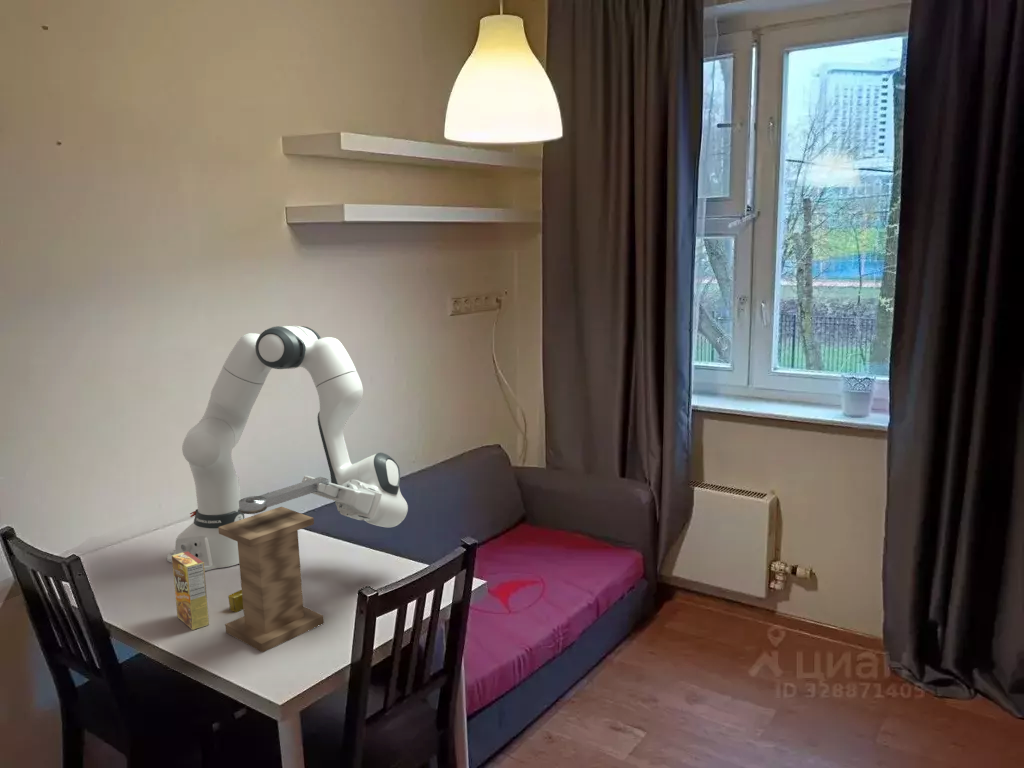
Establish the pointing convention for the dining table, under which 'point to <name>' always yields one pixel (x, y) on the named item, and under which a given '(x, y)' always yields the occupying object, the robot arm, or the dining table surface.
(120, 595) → the dining table surface
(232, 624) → the stand
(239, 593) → the medication box
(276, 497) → the spanner
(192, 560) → the candy box
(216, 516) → the robot arm
